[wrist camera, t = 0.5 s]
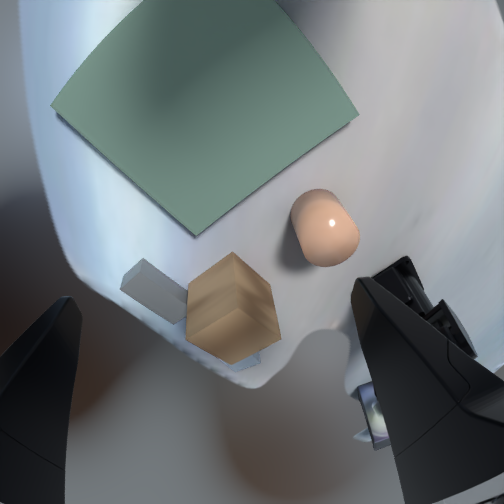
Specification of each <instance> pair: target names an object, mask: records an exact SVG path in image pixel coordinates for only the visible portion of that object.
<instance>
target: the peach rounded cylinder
mask: <svg viewBox="0 0 504 504" xmlns="http://www.w3.org/2000/svg"><path fill="white" fill-rule="evenodd" d="M290 218H291V222H292V224H293V227H294V230H295V232H296V235H297V238H298V240H299V243H300V245H301V248H302V251H303V253H304V256H305V258H306V259H307V260H308V261H309V262H310V263H312V264H314V265H316V266H320V267H330V266H335V265H337V264H340V263H342V262H344V261H345V260H347V259H348V258H349V257H350V256H351V255H352V254H353V253H354V252H355V250H356V249H357V247H358V244H359V240H360V234H359V230H358V228H357V226H356V225H355V223H354V222H353V220H352V219H351V217H350V216H349V214H348V213H347V211H346V210H345V208H344V207H343V205H342V204H341V202H340V201H339V199H338V198H337V197H336V195H334V194H333V193H332V192H330V191H328V190H324V189H314V190H310V191H308V192H305V193H304V194H302V195H301V196H300V197H298V198H297V200H296V201H295V202H294V204H293V206H292V208H291V212H290Z"/></svg>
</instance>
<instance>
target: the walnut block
mask: <svg viewBox="0 0 504 504" xmlns="http://www.w3.org/2000/svg"><path fill="white" fill-rule="evenodd" d="M186 340H187V341H189V342H190V343H192V344H194V345H196V346H197V347H199V348H201V349H203V350H204V351H206V352H208V353H210V354H212V355H213V356H215V357H217V358H219V359H221V360H223V361H224V362H226V363H228V364H230V365H233V364H235V363H237V362H239V361H241V360H243V359H245V358H247V357H249V356H251V355H252V354H254V353H256V352H258V351H260V350H262V349H264V348H266V347H268V346H270V345H271V344H273V343H275V342H277V341H279V340H281V334H280V329H279V324H278V320H277V315H276V310H275V305H274V301H273V296H272V291H271V286H270V284H269V283H268V282H267V281H265V280H264V279H263V278H262V277H261V276H260V275H259V274H257V273H256V272H255V271H254V270H253V269H252V268H251V267H249V266H248V265H247V264H246V263H245V262H244V261H243V260H241V259H240V258H239V257H238V256H237V255H236V254H235V253H234V252H231V253H230V254H229V255H227V256H226V257H224V258H223V259H222V260H220V261H219V262H218V263H216V264H215V265H213V266H212V267H211V268H209V269H208V270H207V271H205V272H204V273H202V274H201V275H200V276H198V277H197V278H196V279H194V280H193V281H191V282H190V283H189V285H188V300H187V318H186Z"/></svg>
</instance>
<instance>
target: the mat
mask: <svg viewBox="0 0 504 504" xmlns="http://www.w3.org/2000/svg"><path fill="white" fill-rule="evenodd" d="M50 106H51V107H52V108H53V109H54V110H55V111H56V112H57V113H59V114H60V115H61V116H62V117H63V118H64V119H65V120H66V121H67V122H68V123H69V124H70V125H72V126H73V127H74V128H75V129H76V130H77V131H78V132H79V133H80V134H81V135H82V136H84V137H85V138H86V139H87V140H88V141H89V142H90V143H91V144H92V145H93V146H95V147H96V148H97V149H98V150H99V151H100V152H101V153H102V154H103V155H104V156H106V157H107V158H108V159H109V160H110V161H111V162H112V163H113V164H114V165H116V166H117V167H118V168H119V169H120V170H121V171H122V172H123V173H125V174H126V175H127V176H128V177H129V178H130V179H131V180H132V181H134V182H135V183H136V184H137V185H138V186H139V187H140V188H141V189H143V190H144V191H145V192H146V193H147V194H148V195H149V196H151V197H152V198H153V199H154V200H155V201H156V202H157V203H159V204H160V205H161V206H162V207H163V208H164V209H165V210H167V211H168V212H169V213H170V214H171V215H172V216H173V217H175V218H176V219H177V220H178V221H179V222H180V223H182V224H183V225H184V226H185V227H186V228H187V229H188V230H190V231H191V232H192V233H193V234H194V235H195V236H197V235H198V234H199V233H201V232H202V231H203V230H204V229H206V228H207V227H208V226H209V225H211V224H212V223H213V222H215V221H216V220H217V219H218V218H220V217H221V216H222V215H223V214H225V213H226V212H227V211H229V210H230V209H231V208H232V207H234V206H235V205H236V204H238V203H239V202H240V201H242V200H243V199H244V198H245V197H247V196H248V195H249V194H251V193H252V192H253V191H255V190H256V189H257V188H259V187H260V186H261V185H263V184H264V183H265V182H267V181H268V180H269V179H271V178H272V177H273V176H275V175H276V174H277V173H279V172H280V171H281V170H283V169H284V168H285V167H287V166H288V165H289V164H291V163H292V162H294V161H295V160H296V159H298V158H299V157H300V156H302V155H303V154H305V153H306V152H307V151H309V150H310V149H312V148H313V147H314V146H316V145H317V144H319V143H320V142H321V141H323V140H324V139H326V138H327V137H328V136H330V135H331V134H333V133H334V132H336V131H337V130H338V129H340V128H341V127H343V126H344V125H346V124H347V123H348V122H350V121H351V120H353V119H354V118H356V117H357V116H359V113H358V112H357V110H356V108H355V107H354V105H353V104H352V102H351V100H350V99H349V97H348V96H347V94H346V93H345V91H344V90H343V88H342V87H341V85H340V84H339V82H338V81H337V79H336V78H335V76H334V75H333V74H332V72H331V71H330V69H329V68H328V66H327V65H326V64H325V62H324V61H323V60H322V58H321V57H320V55H319V54H318V53H317V51H316V50H315V49H314V47H313V46H312V45H311V44H310V42H309V41H308V40H307V38H306V37H305V36H304V35H303V33H302V32H301V31H300V30H299V28H298V27H297V26H296V25H295V24H294V22H293V21H292V20H291V19H290V18H289V16H288V15H287V14H286V13H285V12H284V11H283V9H282V8H281V7H280V6H279V5H278V4H277V3H276V2H275V1H274V0H144V1H143V2H141V3H140V4H139V5H138V6H137V7H136V8H135V9H134V10H133V11H131V12H130V13H129V14H128V15H127V16H126V17H125V18H124V19H123V20H122V21H121V22H120V23H119V24H118V25H117V26H116V27H115V28H114V29H113V30H112V31H111V32H110V33H109V34H108V35H107V36H106V37H105V38H104V39H103V40H102V42H101V43H100V44H99V45H98V46H97V47H96V48H95V49H94V50H93V51H92V53H91V54H90V55H89V56H88V57H87V58H86V60H85V61H84V62H83V63H82V64H81V65H80V67H79V68H78V69H77V70H76V72H75V73H74V74H73V75H72V77H71V78H70V79H69V80H68V82H67V83H66V84H65V86H64V87H63V88H62V90H61V91H60V92H59V94H58V95H57V97H56V98H55V99H54V101H53V102H52V104H51V105H50Z"/></svg>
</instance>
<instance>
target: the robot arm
mask: <svg viewBox="0 0 504 504" xmlns="http://www.w3.org/2000/svg"><path fill="white" fill-rule="evenodd" d="M438 303H439V304H438V305H436V306H435V307H433V305H432V304H431V302H430V300H429V299H428V297H427V296H426V294H425V292H424V288H423V286H422V283H421V281H420V279H419V276H418V274H417V272H416V270H415V267H414V265H413V263H412V261H411V259H410V258H409V257H408V256H405V257H403V258H402V259H400V260H399V261H397V262H396V263H394V264H393V265H391V266H390V267H388V268H387V269H385V270H384V271H382V272H381V273H379V274H378V275H376V276H375V277H373V278H370V277H359V278H357V279H356V280H355V284H354V288H353V292H352V295H351V305H352V309H353V313H354V317H355V322H356V326H357V331H358V336H359V340H360V344H361V348H362V351H363V354H364V357H365V360H366V363H367V366H368V369H369V372H370V375H371V378H372V382H373V388H374V394H375V396H376V399H377V401H378V402H379V404H380V408H381V411H382V415H383V418H384V422H385V425H386V429H387V432H388V436H389V439H390V443H391V447H392V451H393V455H394V457H395V458H394V459H395V463H396V467H397V471H398V475H399V479H400V483H401V488H402V492H403V496H404V501H405V504H432V503H435V502H438V501H440V500H443V503H444V504H504V381H503V380H502V379H500V378H499V377H498V376H496V375H495V374H494V373H492V372H491V371H489V370H488V369H486V368H485V367H484V366H482V365H481V364H479V363H478V362H477V361H475V360H474V359H475V358H476V357H478V356H477V353H476V351H475V349H474V347H473V344H472V342H471V340H470V338H469V336H468V334H467V332H466V330H465V328H464V327H463V325H462V324H461V322H460V320H459V319H458V317H457V316H456V314H455V313H454V312H453V311H452V309H451V308H450V307H449V306H448V305H447V303H446V302H445V301H444V300H443V299H442V300H441V301H440V302H438ZM82 320H83V319H82V313H81V311H80V310H79V308H78V306H77V304H76V302H75V300H74V298H73V297H71V296H63V297H60V298H59V299H58V300H57V301H56V302H55V303H54V304H53V305H51V306H50V307H49V308H48V309H47V310H46V311H45V312H44V313H43V314H42V315H41V316H40V317H39V318H38V319H37V320H36V321H35V322H34V323H33V324H32V325H31V326H30V327H29V328H28V329H27V330H26V331H25V332H24V333H23V334H22V335H21V336H20V337H19V338H18V339H17V340H16V341H15V342H14V343H13V344H12V345H11V346H10V347H9V348H8V349H7V350H6V351H5V352H4V353H3V354H2V355H1V356H0V504H65V462H66V448H67V436H68V426H69V417H70V409H71V402H72V394H73V388H74V382H75V376H76V370H77V364H78V357H79V347H80V338H81V328H82Z"/></svg>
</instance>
